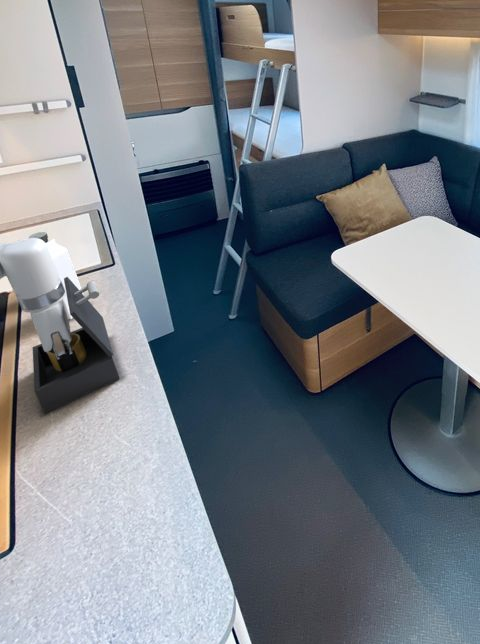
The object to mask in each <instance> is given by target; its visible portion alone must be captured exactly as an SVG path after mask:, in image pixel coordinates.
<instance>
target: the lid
mask: <svg viewBox="0 0 480 644" xmlns="http://www.w3.org/2000/svg"><path fill="white" fill-rule="evenodd" d="M64 282H65V288H66V294H67V299H68V305H69V311H70V315H71V316H72V317H73V318H72V319H74V321H75V322H76V323H77V324H78V325H79V326H80V328H83V329H84V330H85V331H86V332H87V333H88V334H89V335H90V336H91V338H92V339H93V340H94V341H95V342H96V343H97V344H98V345H99V346H100V347H101V348H102V349H103V350H104V352H105V353H106V354H107V355H108V356H109V357H111V356H114V352H113V348H112V345H111V341H110V338H109V334H108V330H107V327H106V323H105V321H104V317H103V316H102V315H101V314H100V312H99V311H98V310H97V309H96V308H95V306H94V305H93V304H92V303H91V302H90V301H89V300H90V299H92V300H94V299H98V298H99V297H100V291H99V288H98V285H97V282H96V280H90V281H88V282H87V283H86V286H84V287H81V288H82V289H81V290H79V289H78V288H77V287H76V286H75V285H74V284H73V282H72V281H71V280H70V279H69V278H68V277H66V278H64ZM85 292H87V293H88V295H86V296H85V294H84V293H85ZM82 293H83V294H84V295H83V294H82Z"/></svg>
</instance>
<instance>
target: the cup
mask: <svg viewBox="0 0 480 644" xmlns="http://www.w3.org/2000/svg"><path fill="white" fill-rule="evenodd" d="M71 338H72V340H71V342H70V346H71V348H72V351H75V354H76V356H77V359H78V361H79V364H80V363H81V362H82V361H83V360H84V359H85V358H86V351H85V348H84V346H83V343H82V341H81V338H80V336H79V335H78V334H71ZM64 341H66V340H64V339H63V340H62V342H64ZM64 348H65V349H68V348H67V345H64ZM47 354H48V356H49V358H50V360H51V362H52V364H53V367H54V368H55V370H57V371H61V368H60V366H59V364H58V362H57V359H56V355H55V352H54V349H53V347H52V350H50V351H49V352H47Z"/></svg>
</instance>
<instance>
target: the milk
mask: <svg viewBox="0 0 480 644" xmlns="http://www.w3.org/2000/svg"><path fill="white" fill-rule="evenodd" d="M48 241H49V242H47V243H46V245H47V247H48V250H49V252H50V254H51V257H52V259H53V262H54V264H55V267H56V269H57V272H58V274H59V277H60V280H61V282H62V284H63V287H64V289H65V292H66V288H65V282H64V278H66V277H68V278H69V279H70V280H71V281H72V282H73V284H74V285H75V286H76V287H77V288H78V289H79V290H81V289H82V288H83V287H82V286H81V283H80V280H79V277H78V275H77V271H76V269H75V267H74V264H73V261H72V259H71V255H70V253H69V250H68V248H66V247H64V246H62V245H61V244H58V243H57V242H56V240H55V239H54V238H52V239H51V240H48ZM82 294H83V295H84V296H85V294H84V292H83V293H82ZM62 302H63V305H64V307H65V310H66V313H67V316H68V320H73V319H74V318H73V317H72V316H71V315H70V311H69V305H68V299H67V294H66V295H65V297H64V298H63V299H62Z"/></svg>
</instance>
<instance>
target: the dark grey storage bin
mask: <svg viewBox="0 0 480 644" xmlns="http://www.w3.org/2000/svg"><path fill="white" fill-rule="evenodd" d="M71 334H78V335H79V336H80V338H81V341H82V343H83V346H84V348H85V351H86V358H85V359H84V360H83V361H82V362H81V363H80V364H79V366H77V367H75V368H73V369H71V370H68V371H66V372H62V371H57V370H55V368H54V367H53V364H52V362H51V360H50V358H49V356H48V354H47V352H45V351H44V349H43V347H42V344H41V343H39V344H38V345H37V344H36V345H34V346H32V363H33V364H32V366H33V367H32V368H33V388H34V394H35V396H36V399H37V400H38V403H39V405H40V407H41V410H42V412H43V413H44V415H46V414H49V413H51V412H53V411H55V410H57V409H59V408H62V407H64V406H65V405H67V404H70V403H71V402H73V401H76V400H78V399H80V398H82V397H85V396H86V395H89V394H90V393H93V392H94V391H97V390H99V389H101V388H104V387H105V386H107V385H110V384H112V383H114V382H116V381H118V380H120V375H119V371H118V367H117V363H116V361H115V357H114V355H113V356H111V357H109V356H108V355H107V354H106V353H105V352H104V350H103V349H102V348H101V347H100V346H99V345H98V344H97V343H96V342H95V341H94V340H93V339H92V338H91V336H90V335H89V334H88V333H87V332H86V331H85V330H84V329H83V328H82V327H80V328H78V329H75V330H71Z"/></svg>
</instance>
